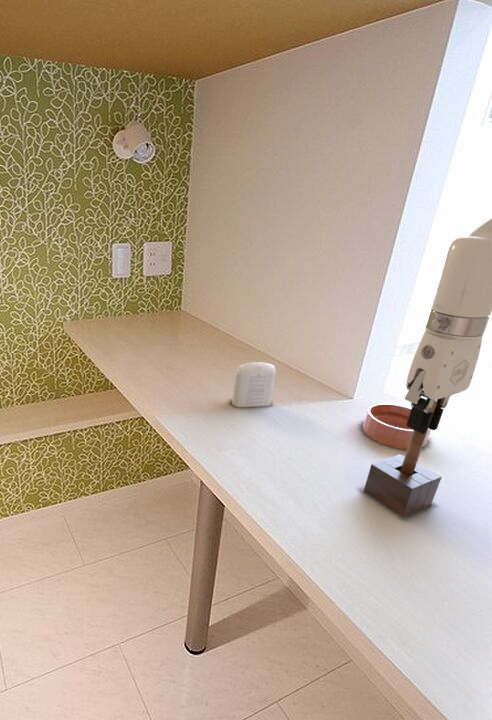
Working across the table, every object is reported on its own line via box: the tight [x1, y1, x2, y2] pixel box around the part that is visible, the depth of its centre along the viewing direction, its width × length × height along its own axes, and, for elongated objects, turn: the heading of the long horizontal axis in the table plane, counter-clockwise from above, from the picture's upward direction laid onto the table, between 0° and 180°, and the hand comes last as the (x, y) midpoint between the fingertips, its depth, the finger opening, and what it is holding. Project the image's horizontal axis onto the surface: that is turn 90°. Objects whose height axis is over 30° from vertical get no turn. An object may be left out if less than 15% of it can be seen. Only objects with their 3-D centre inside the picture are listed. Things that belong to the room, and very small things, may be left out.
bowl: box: [362, 403, 432, 450], centre depth 101 cm, size 13×13×6 cm
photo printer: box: [231, 361, 276, 408], centre depth 113 cm, size 10×4×12 cm, turn 98°
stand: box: [363, 453, 442, 518], centre depth 79 cm, size 8×8×7 cm
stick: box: [400, 397, 438, 476], centre depth 75 cm, size 2×2×16 cm
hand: (421, 427), depth 74 cm, fingers closed on stick, 2 cm apart
